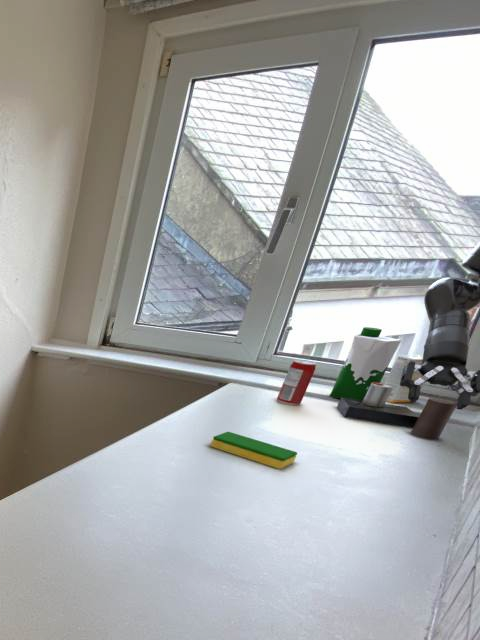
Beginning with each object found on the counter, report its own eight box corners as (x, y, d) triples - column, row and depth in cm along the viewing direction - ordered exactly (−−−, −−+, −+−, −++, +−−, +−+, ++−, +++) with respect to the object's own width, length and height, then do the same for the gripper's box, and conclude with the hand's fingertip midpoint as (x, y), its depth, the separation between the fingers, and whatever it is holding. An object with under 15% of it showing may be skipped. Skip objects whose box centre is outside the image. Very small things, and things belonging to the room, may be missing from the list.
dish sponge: (279, 469, 113) (284, 458, 112) (209, 446, 123) (213, 436, 122) (293, 462, 116) (298, 452, 115) (224, 440, 127) (228, 431, 126)
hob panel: (401, 417, 148) (407, 406, 146) (413, 428, 140) (419, 416, 138) (336, 407, 154) (341, 396, 152) (344, 417, 146) (349, 406, 144)
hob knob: (381, 404, 147) (391, 383, 145) (385, 408, 144) (396, 387, 141) (360, 401, 149) (370, 380, 147) (364, 405, 146) (374, 384, 143)
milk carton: (340, 392, 168) (371, 326, 159) (376, 401, 160) (410, 332, 151) (324, 395, 164) (354, 327, 155) (359, 404, 157) (393, 334, 148)
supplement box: (398, 397, 165) (420, 354, 159) (415, 402, 161) (439, 358, 155) (375, 397, 164) (397, 354, 158) (392, 403, 160) (415, 358, 154)
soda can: (301, 402, 156) (319, 361, 151) (298, 406, 153) (316, 364, 147) (277, 398, 160) (294, 357, 154) (274, 401, 156) (291, 360, 151)
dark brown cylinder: (433, 435, 136) (453, 400, 132) (441, 441, 132) (461, 405, 128) (407, 430, 138) (425, 396, 134) (413, 436, 134) (432, 401, 130)
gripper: (417, 335, 136) (408, 391, 132) (496, 344, 130) (489, 402, 126) (400, 352, 143) (391, 406, 139) (474, 361, 136) (467, 417, 133)
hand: (437, 404), depth 132 cm, fingers open, 8 cm apart
